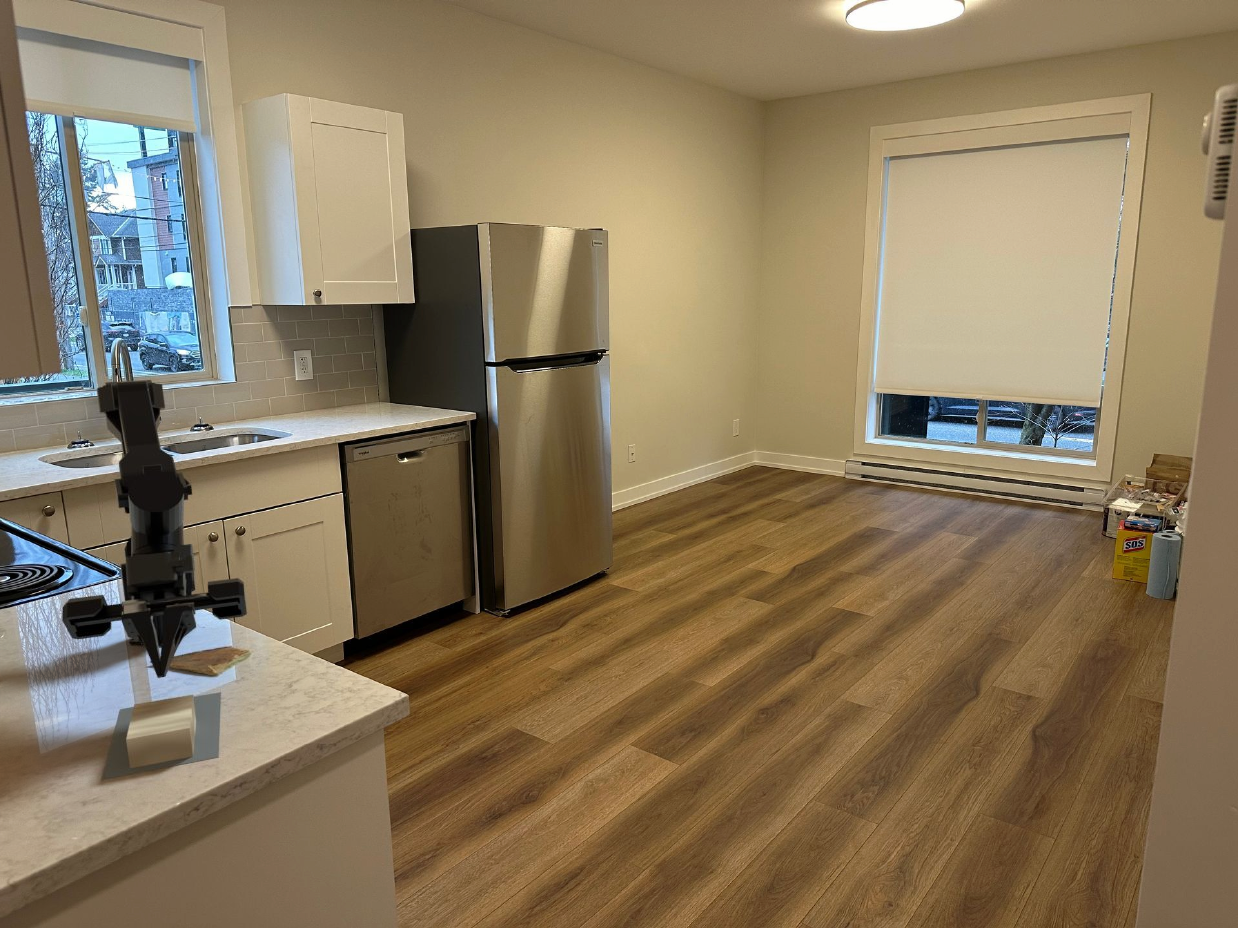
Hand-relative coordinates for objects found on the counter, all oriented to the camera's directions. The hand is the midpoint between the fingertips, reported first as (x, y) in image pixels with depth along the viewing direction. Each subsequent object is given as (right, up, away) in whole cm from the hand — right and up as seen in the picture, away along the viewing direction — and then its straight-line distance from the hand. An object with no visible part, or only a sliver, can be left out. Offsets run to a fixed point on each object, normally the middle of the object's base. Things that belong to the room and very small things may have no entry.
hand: (161, 676), depth 97 cm
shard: (-3, -4, +17) cm, 18 cm away
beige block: (0, -5, +1) cm, 5 cm away
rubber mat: (0, -7, +1) cm, 7 cm away
